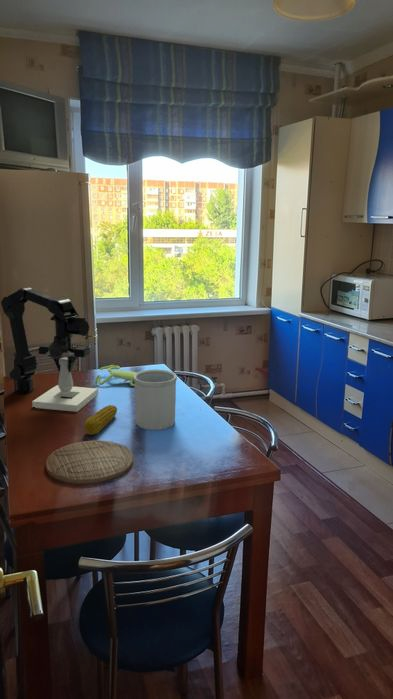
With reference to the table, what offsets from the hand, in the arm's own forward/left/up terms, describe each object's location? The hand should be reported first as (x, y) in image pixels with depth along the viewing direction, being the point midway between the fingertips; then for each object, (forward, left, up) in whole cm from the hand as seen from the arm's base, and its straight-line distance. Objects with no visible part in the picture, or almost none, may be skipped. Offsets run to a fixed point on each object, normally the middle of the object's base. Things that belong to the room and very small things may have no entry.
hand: (65, 371), depth 198 cm
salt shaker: (0, 0, -8) cm, 8 cm away
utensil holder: (+40, -13, -12) cm, 44 cm away
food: (+23, -20, -12) cm, 33 cm away
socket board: (0, 0, -12) cm, 12 cm away
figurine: (+13, +29, -13) cm, 34 cm away
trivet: (+30, -47, -12) cm, 57 cm away
